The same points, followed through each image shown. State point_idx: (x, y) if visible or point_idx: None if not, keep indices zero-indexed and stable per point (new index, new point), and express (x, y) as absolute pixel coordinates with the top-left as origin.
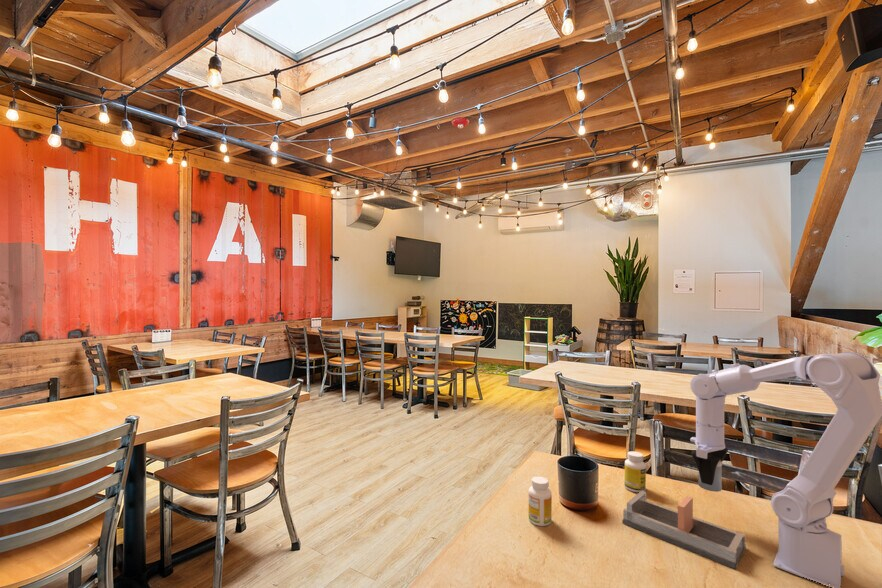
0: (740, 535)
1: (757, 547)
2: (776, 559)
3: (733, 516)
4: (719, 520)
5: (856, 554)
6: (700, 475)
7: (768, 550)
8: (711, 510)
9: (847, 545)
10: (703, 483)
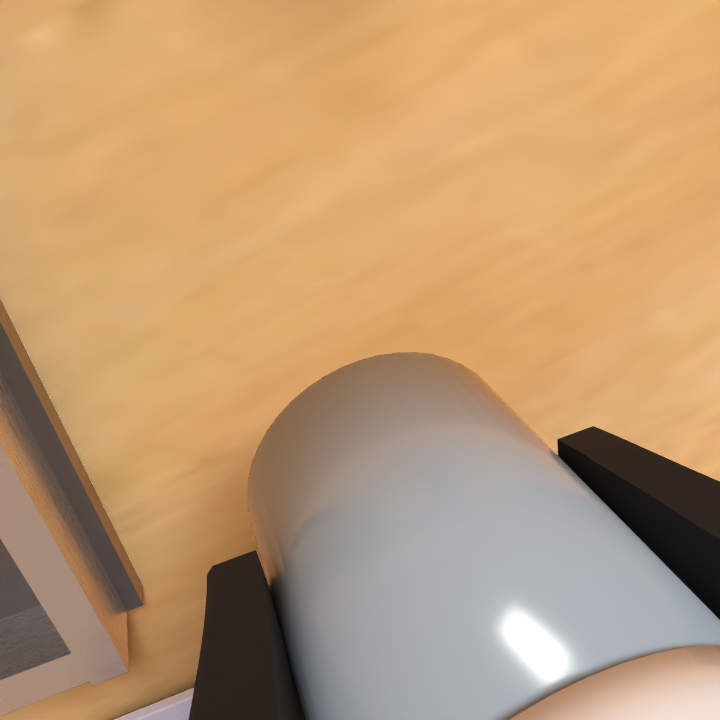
0: (82, 672)
1: None
2: (160, 715)
3: (521, 324)
4: (370, 316)
5: None
6: (197, 673)
7: None
8: (489, 193)
9: None
10: (259, 538)
